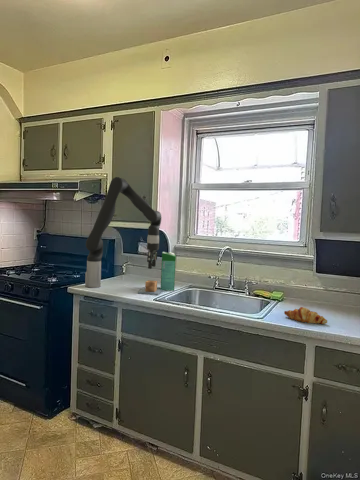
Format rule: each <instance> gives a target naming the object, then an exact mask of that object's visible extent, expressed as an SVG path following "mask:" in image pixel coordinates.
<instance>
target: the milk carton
mask: <svg viewBox="0 0 360 480" xmlns="http://www.w3.org/2000/svg"><path fill="white" fill-rule="evenodd" d="M176 256H177V255H176V254H175V253H174V252H170V251H169V252H166V251H162V252H161V272H160V274H161V275H160V289H162V290H163V291H169V292H170V291H173V292H174V291H175V281H176V280H175V279H176V262H177V261H176V259H177V257H176Z"/></svg>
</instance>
